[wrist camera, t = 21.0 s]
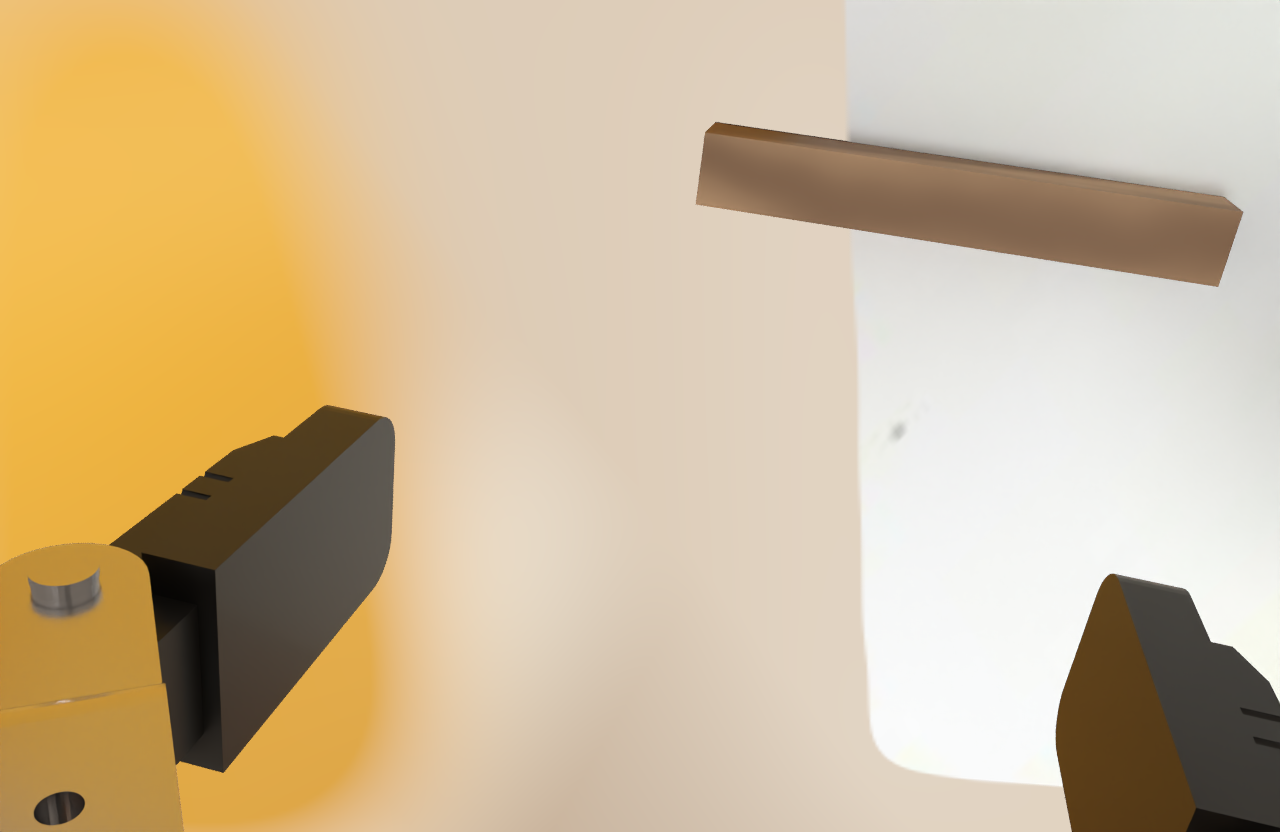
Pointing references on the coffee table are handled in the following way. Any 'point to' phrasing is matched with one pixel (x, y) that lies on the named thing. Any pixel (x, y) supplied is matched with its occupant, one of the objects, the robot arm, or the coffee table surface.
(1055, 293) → the coffee table surface
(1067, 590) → the coffee table surface
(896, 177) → the walnut bar
